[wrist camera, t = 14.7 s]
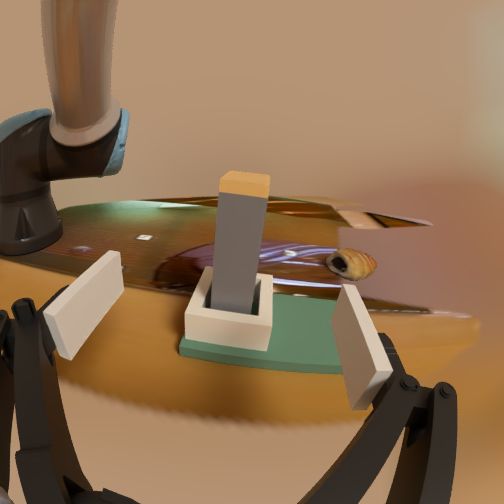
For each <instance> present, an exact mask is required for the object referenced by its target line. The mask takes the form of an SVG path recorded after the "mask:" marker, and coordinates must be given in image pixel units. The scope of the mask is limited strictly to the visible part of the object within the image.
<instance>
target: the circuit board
mask: <svg viewBox="0 0 504 504" xmlns="http://www.w3.org/2000/svg"><path fill="white" fill-rule="evenodd" d="M336 303H337V301H333V300H324V299H315V298H306V297H298V296H290V295H282V294H274V293H273V306H272V330H271V335H270V339H269V344H268V348H267V351H259V350H252V349H244V348H237V347H230V346H224V345H218V344H212V343H206V342H200V341H195V340H189V339H185V332H184V335H183V337H182V340H181V342H180V345H179V353H180V355H181V356H186V357H191V358H196V359H201V360H207V361H213V362H219V363H225V364H231V365H238V366H246V367H253V368H262V369H271V370H281V371H293V372H307V373H326V374H343V371H342V367H341V363H340V358H339V354H338V350H337V346H336V343H335V339H334V335H333V331H332V327H331V323H330V321H331V318H332V315H333V312H334V309H335V306H336ZM257 304H258V302H252V309H251V315H255V316H256V315H257ZM209 309H211V304H210V307H209Z"/></svg>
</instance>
